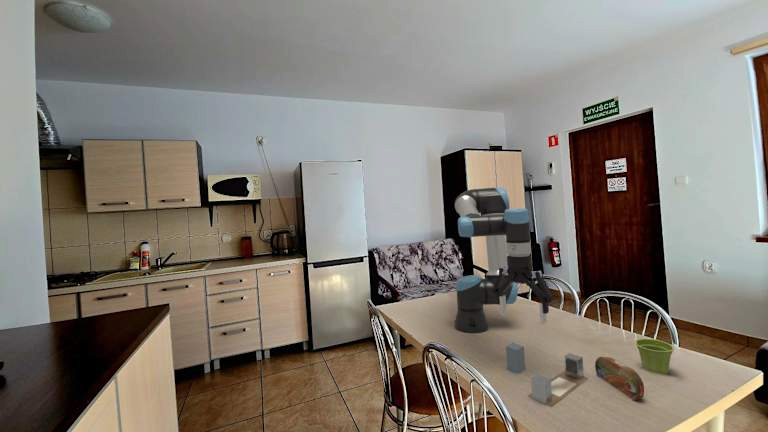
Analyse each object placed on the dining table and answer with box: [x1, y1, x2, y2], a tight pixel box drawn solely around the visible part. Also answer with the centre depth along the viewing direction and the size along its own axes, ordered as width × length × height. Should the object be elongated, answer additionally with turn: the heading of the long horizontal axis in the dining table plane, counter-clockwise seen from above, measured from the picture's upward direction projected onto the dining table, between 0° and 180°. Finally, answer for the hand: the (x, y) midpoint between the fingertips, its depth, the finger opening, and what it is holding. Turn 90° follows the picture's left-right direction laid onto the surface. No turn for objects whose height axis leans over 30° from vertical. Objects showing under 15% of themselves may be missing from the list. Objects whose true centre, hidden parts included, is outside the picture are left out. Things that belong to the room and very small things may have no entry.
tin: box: [594, 356, 645, 401], centre depth 93 cm, size 15×3×8 cm, turn 5°
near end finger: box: [530, 373, 552, 406], centre depth 90 cm, size 4×4×6 cm
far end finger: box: [564, 352, 585, 380], centre depth 100 cm, size 4×4×6 cm
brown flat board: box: [527, 370, 590, 408], centre depth 95 cm, size 7×22×1 cm, turn 125°
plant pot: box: [634, 338, 675, 376], centre depth 102 cm, size 9×9×9 cm
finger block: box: [505, 342, 526, 374], centre depth 107 cm, size 4×5×9 cm
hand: (522, 318), depth 107 cm, fingers open, 13 cm apart
